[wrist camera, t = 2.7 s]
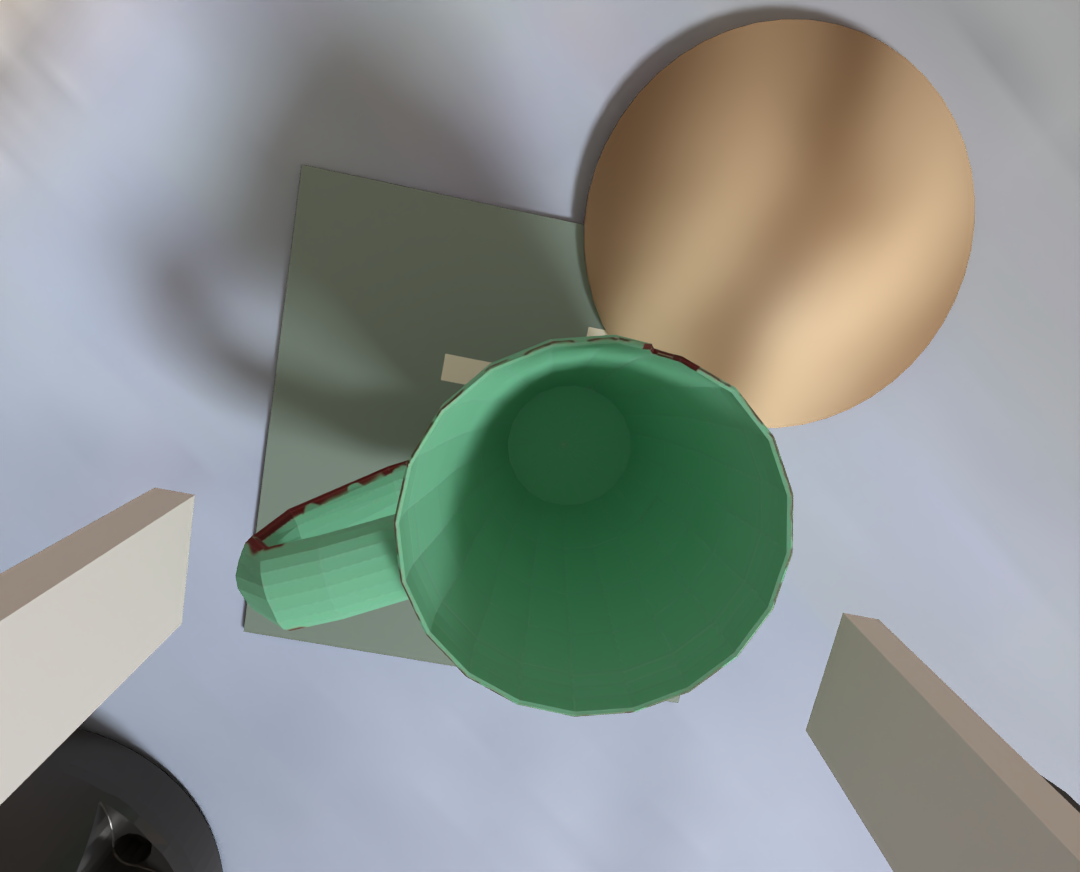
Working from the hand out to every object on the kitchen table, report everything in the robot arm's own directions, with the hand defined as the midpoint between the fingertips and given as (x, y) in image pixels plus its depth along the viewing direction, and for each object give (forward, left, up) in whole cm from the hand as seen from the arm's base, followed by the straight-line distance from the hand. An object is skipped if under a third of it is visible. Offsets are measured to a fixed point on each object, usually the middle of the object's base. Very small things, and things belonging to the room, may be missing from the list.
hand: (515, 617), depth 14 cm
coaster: (+8, +10, -13) cm, 18 cm away
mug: (0, 0, -13) cm, 13 cm away
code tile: (0, 0, -13) cm, 13 cm away
